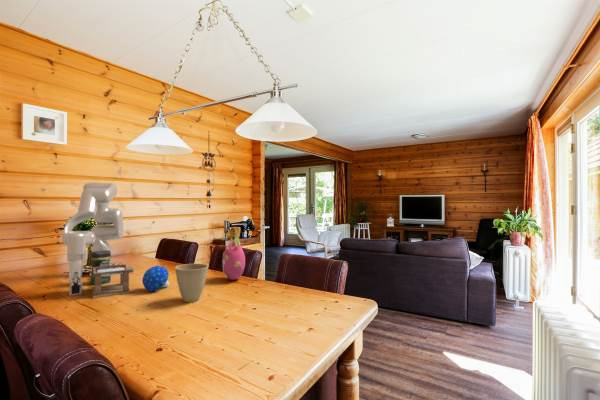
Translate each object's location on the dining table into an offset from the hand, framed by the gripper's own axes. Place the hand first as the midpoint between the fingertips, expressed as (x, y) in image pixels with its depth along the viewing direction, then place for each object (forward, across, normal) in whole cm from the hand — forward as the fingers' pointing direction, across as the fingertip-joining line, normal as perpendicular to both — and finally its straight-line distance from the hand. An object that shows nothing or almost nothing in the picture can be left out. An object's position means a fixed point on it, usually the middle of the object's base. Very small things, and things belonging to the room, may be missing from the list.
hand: (76, 290), depth 155 cm
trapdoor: (-8, +4, +17) cm, 19 cm away
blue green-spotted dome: (+2, +15, +35) cm, 38 cm away
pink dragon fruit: (+2, +18, +77) cm, 79 cm away
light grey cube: (+1, 0, 0) cm, 1 cm away
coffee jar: (+2, -17, +11) cm, 20 cm away
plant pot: (+2, +42, +46) cm, 62 cm away
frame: (+1, +4, +15) cm, 16 cm away
